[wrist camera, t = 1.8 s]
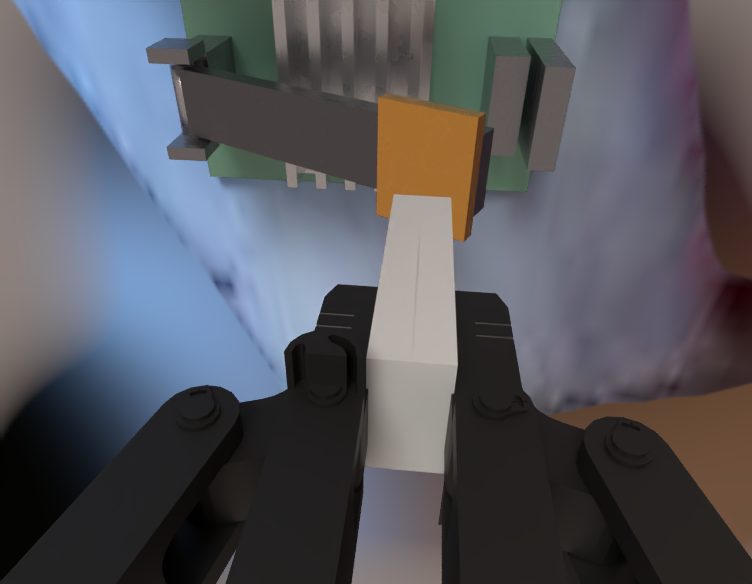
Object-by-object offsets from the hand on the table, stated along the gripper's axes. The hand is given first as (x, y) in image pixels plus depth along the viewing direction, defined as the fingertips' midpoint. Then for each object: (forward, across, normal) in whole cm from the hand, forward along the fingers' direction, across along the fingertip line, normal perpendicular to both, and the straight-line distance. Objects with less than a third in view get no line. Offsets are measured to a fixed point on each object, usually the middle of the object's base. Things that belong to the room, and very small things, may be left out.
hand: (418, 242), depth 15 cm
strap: (+17, -6, -2) cm, 18 cm away
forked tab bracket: (+27, -15, -2) cm, 31 cm away
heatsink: (+27, -5, -2) cm, 28 cm away
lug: (+27, +6, -2) cm, 28 cm away
